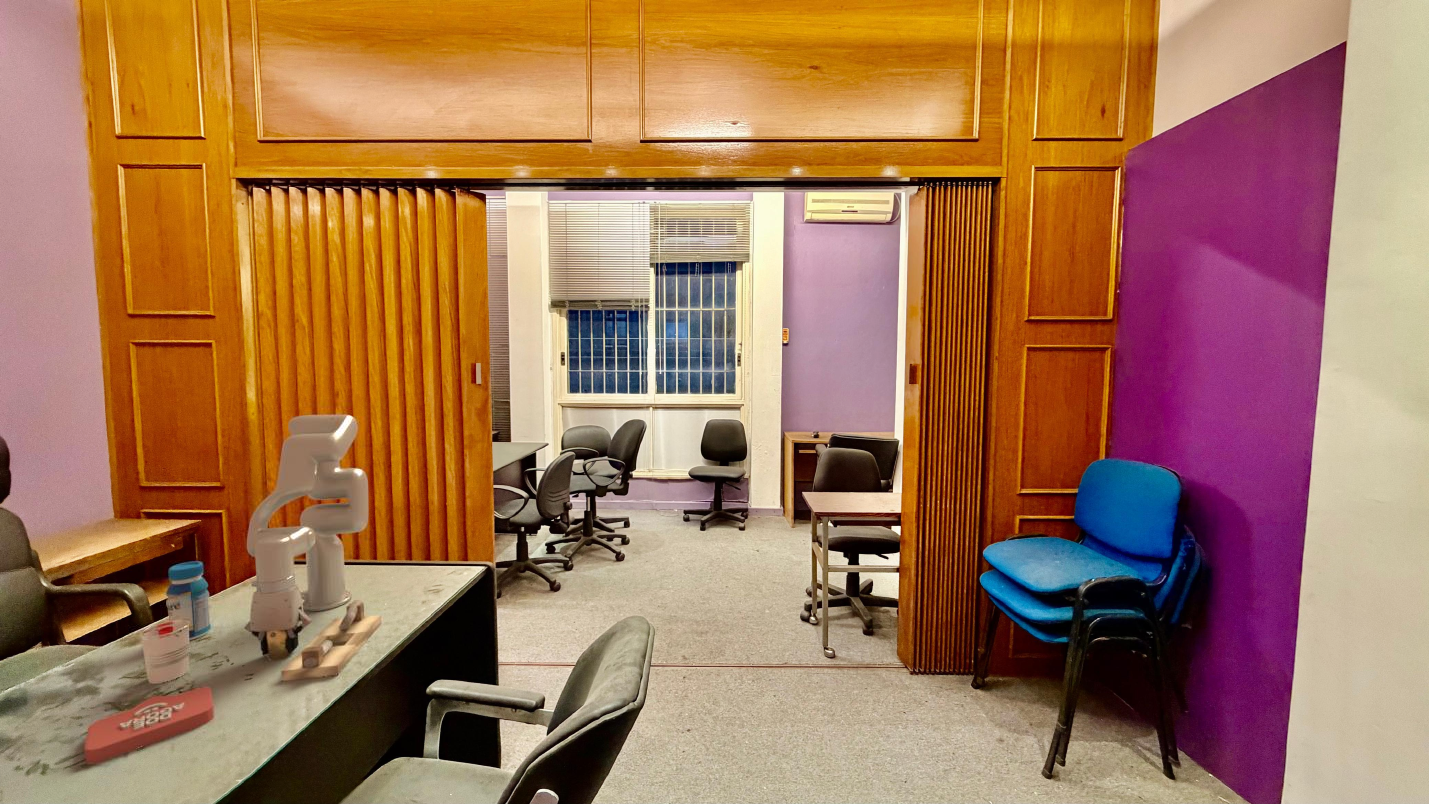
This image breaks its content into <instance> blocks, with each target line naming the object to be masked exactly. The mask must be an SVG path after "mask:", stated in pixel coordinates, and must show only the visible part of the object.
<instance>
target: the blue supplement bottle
mask: <svg viewBox="0 0 1429 804" xmlns="http://www.w3.org/2000/svg"><path fill="white" fill-rule="evenodd" d="M167 572H168V580H169V582H171V583H170V584H169V586H168V587H167V589H166V594H165V596H167V599H166V603H165V604H166V607H167V613H168V621H173V620H189V621H190V624H189V641H192V640H195V639H198V638H201V637H203V636H205V635H207V634H208V633H209V632H210V631H211V629H212V625H211V622H210V620H211V619H210V606H209V604H210V603H209V598H210V592H209V590H208V587H209V584H208V582H207V581H206V579H205V578H204V577H203V575H204V564H203V561H198V560H197V561H195V560H194V561H188V562H182V563H179V564H176V565H172V566H171V567H169V568H168V571H167Z"/></svg>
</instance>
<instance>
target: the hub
mask: <svg viewBox="0 0 1429 804" xmlns="http://www.w3.org/2000/svg"><path fill="white" fill-rule="evenodd" d="M266 635H267V651H268V654H267V660H269V661H277V660H282V659H285V658H287V657H289V656H291V654H292V655H293V652H292V653H288V650H287V639H288V638H289V635H288V632H287V630H286V629H284V630H272V631H266Z"/></svg>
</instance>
